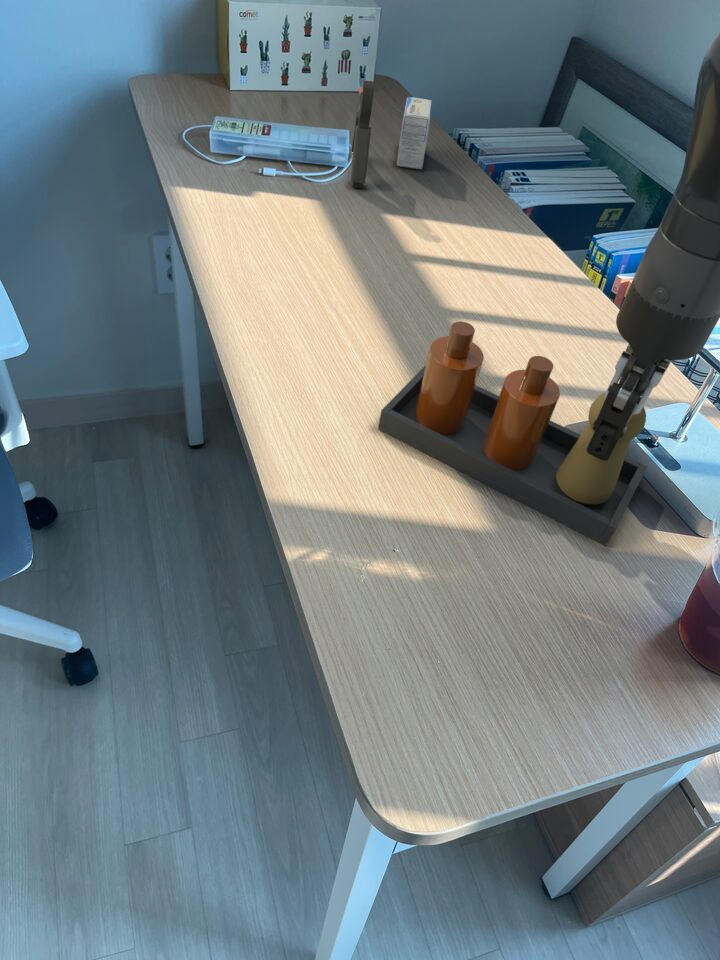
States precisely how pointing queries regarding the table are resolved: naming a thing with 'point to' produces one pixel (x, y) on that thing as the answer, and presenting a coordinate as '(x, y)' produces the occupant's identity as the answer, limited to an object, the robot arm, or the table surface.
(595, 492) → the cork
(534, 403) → the amber bottle middle
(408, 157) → the medicine box
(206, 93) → the table surface
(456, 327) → the amber bottle far
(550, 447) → the tray
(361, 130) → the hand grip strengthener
